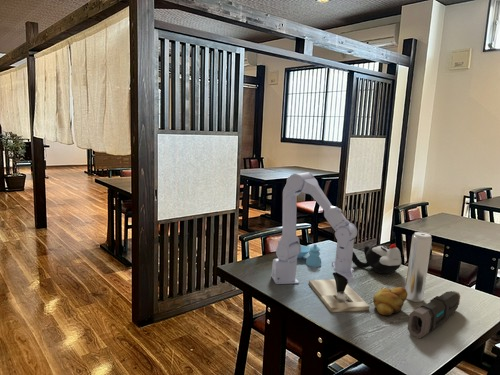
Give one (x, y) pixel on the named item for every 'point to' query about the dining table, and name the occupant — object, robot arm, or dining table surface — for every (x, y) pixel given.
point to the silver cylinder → (418, 266)
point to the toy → (380, 258)
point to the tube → (432, 313)
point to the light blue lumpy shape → (311, 255)
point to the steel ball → (341, 297)
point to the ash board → (328, 296)
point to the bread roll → (390, 300)
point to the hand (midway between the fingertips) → (340, 292)
